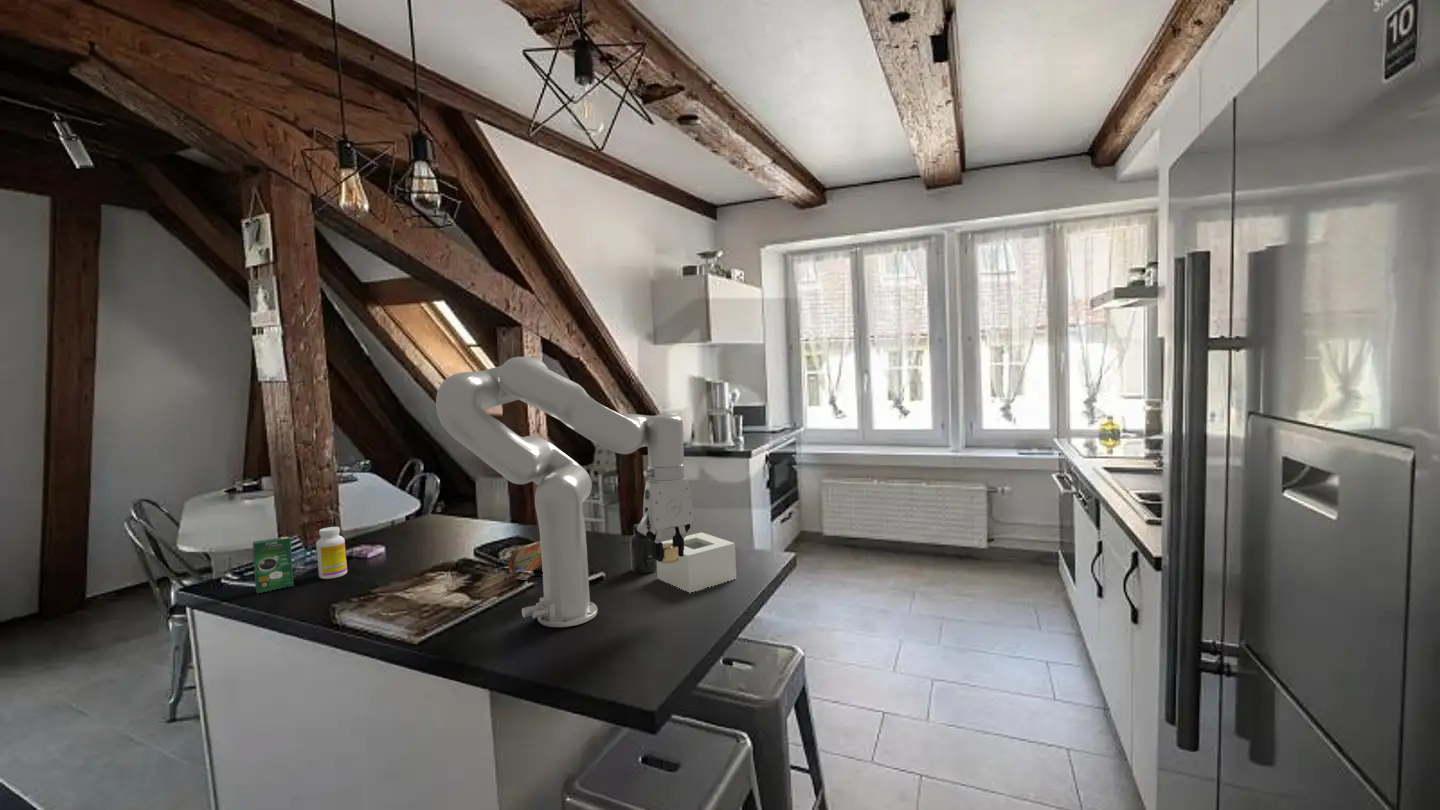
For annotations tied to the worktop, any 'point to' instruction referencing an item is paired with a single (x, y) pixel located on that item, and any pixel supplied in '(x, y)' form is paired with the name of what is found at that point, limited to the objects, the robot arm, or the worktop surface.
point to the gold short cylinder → (670, 553)
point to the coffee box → (272, 564)
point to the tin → (526, 558)
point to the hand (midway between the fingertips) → (668, 556)
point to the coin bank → (700, 563)
